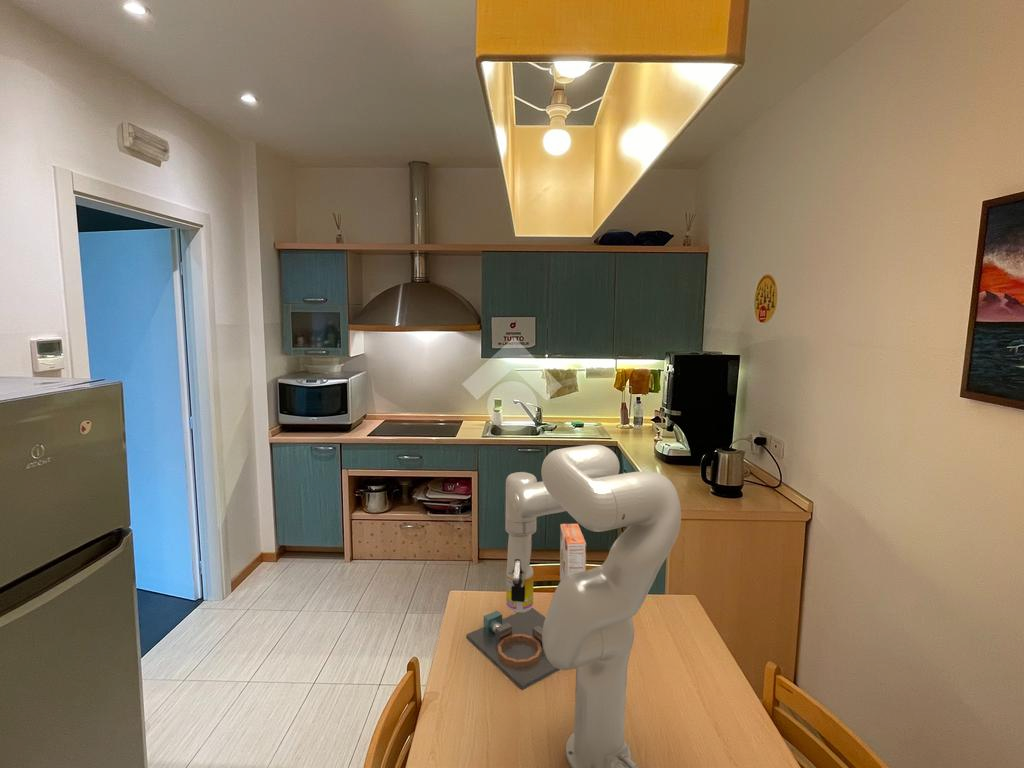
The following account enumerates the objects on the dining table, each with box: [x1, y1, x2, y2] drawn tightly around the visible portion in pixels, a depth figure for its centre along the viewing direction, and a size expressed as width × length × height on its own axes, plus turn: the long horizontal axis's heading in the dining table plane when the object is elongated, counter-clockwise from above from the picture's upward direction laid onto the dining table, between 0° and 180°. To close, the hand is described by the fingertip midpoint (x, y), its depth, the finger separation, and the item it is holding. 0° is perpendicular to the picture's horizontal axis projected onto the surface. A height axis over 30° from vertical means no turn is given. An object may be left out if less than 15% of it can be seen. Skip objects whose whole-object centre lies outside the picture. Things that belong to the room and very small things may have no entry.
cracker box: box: [559, 523, 587, 583], centre depth 158 cm, size 14×6×21 cm, turn 2°
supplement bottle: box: [505, 564, 534, 613], centre depth 130 cm, size 7×7×13 cm
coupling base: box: [465, 607, 560, 691], centre depth 136 cm, size 24×22×5 cm
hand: (520, 592), depth 130 cm, fingers closed on supplement bottle, 6 cm apart
